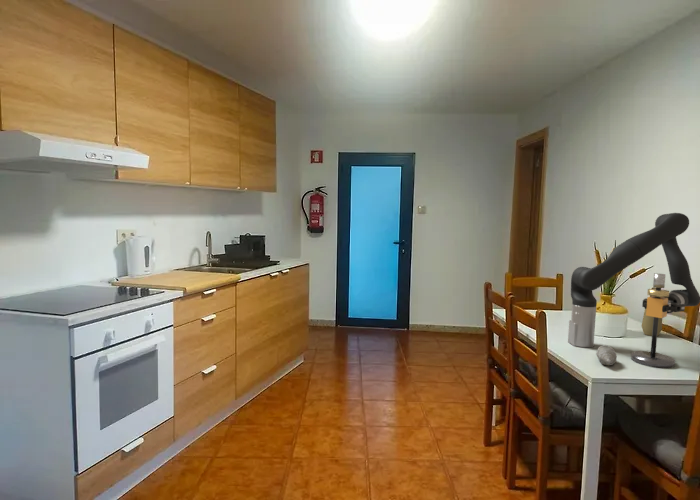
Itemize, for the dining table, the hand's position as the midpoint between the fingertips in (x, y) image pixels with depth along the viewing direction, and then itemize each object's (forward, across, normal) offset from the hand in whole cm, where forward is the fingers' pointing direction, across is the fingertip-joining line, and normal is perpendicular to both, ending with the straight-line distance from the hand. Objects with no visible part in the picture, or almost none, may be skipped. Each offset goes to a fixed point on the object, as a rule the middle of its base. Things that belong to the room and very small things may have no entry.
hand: (654, 307), depth 173 cm
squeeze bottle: (-46, -15, +22) cm, 53 cm away
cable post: (-3, 0, +22) cm, 22 cm away
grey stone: (+14, -10, +22) cm, 28 cm away
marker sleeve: (-3, 0, +4) cm, 4 cm away
